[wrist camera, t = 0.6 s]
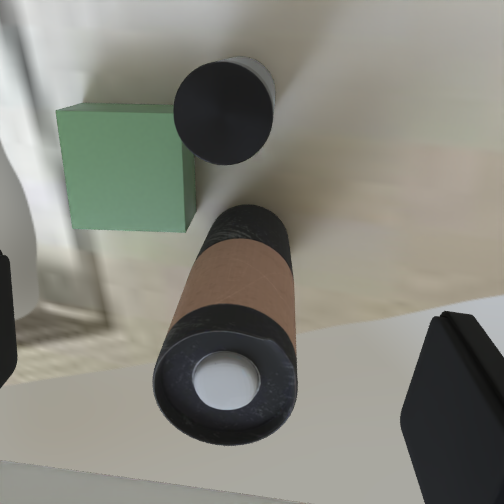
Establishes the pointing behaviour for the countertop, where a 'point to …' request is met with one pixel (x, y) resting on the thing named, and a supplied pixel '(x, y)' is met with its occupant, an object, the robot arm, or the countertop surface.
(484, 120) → the countertop surface
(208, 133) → the steel flask
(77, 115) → the green block
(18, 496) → the robot arm
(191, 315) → the travel mug
